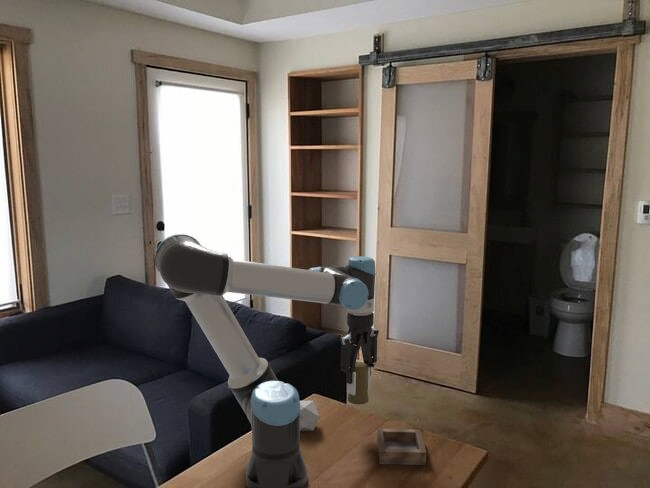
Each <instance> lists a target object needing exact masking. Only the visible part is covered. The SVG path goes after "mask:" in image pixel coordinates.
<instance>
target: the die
mask: <svg viewBox="0 0 650 488" xmlns="http://www.w3.org/2000/svg"><path fill="white" fill-rule="evenodd" d="M319 418H320V414H319V412H318V409H317V406H316V403H315V402H314V400H300V432H312V431H314V430H315V428H316V427H317V426H316V425H317V422H318V420H319Z"/></svg>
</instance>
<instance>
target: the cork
mask: <svg viewBox="0 0 650 488" xmlns="http://www.w3.org/2000/svg"><path fill="white" fill-rule="evenodd" d="M354 372H356V393H355V395H352V394H349V393H347V394H348V395H347V401H348V402H349V403H350V404H353V405H366V404H367V403H368V402H369V391H368V390H369V389H368V390H367V381H366V374H367V373H368V366H367V364H365V363H364V361H356V364H355V369H354Z"/></svg>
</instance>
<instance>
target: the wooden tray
mask: <svg viewBox="0 0 650 488" xmlns="http://www.w3.org/2000/svg"><path fill="white" fill-rule="evenodd" d="M376 432H377V433H376V442H377V444H376V445H377V452H378V460H379V461H378V462H379V465H404V466H405V465H407V466H427V450H426V446H425V443H424V439H423V435H422V432H421V429H413V428H412V429H407V428H404V429H403V428H377V429H376Z"/></svg>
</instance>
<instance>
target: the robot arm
mask: <svg viewBox="0 0 650 488" xmlns="http://www.w3.org/2000/svg"><path fill="white" fill-rule="evenodd" d="M154 265H155V267H156V269H157V271H158V272H159V275H160V277H161V279H162V280H163V282H164V283H165V284H166V285H167V287H168V288H169V290H170V292H171V293H172V294H173V297H174V298H175V299H176V300H179V301H182V302H183V301H184V302H185V304H186V306H187V307H188V309H189V311H190V312H191V314H192V315H193V317H194V319H195V320H196V323H198V325H199V327H200V328H201V331H202V332H203V333H204V335H205V336H206V338H207V340H208V341H209V343H210V345H211V346H212V349H213V350H214V352H215V353H216V355H217V356H218V358H219V361H220V362H221V363H222V365H223V367H224V369H225V370H226V372H227V373H228V380H227V385H228V387H229V388H230V390H231V392H232V394H233V395H234V397H235V399H236V400H237V401H236V402H238V404H239V405H240V406H241V408H242V410H243V412H244V414H245V415H246V418H247V420H248V422H249V423H250V425H251V427H250V428H251V446H252V448H251V449H252V451H251V455H250V457H249V461H248V463H247V467H246V470H245V485H246V487H247V488H304V487H305V485H306V484H307V481H308V469H307V466H306V462H305V460H304V457H303V453H302V452H301V448H300V447H301V446H300V445H301V443H300V441H301V434H300V433H301V431H300V401H301V400H300V395H299V394H300V393H299V391H298V390H297V388H296V387H294V386H293V385H292V384H290V383H288V382H287V383H285V382H284V381H281V380H278V378H277V376H276V374H275V372H274V371H273V369H272V367H271V365H270V364H269V362H268V360H267V359H266V358H264V357H259V356H258V354H257V352H256V350H255V349H254V348H253V345H252V344H251V342H250V340H249V338H248V337H247V335H246V334H245V331H244V330H243V328H242V327H241V324H240V323H239V321H238V320H237V317H236V316H235V314H234V313H233V311H232V309H231V307H230V305H229V304H228V302H227V300H226V299H225V297H224V295H225V294H226V293H233V294H242V295H250V296H251V295H252V296H259V297H268V298H276V299H283V300H284V299H285V300H291V301H302V302H309V303H310V302H311V303H319V304H327V305H332V306H333V305H335V306H341V307H343V308H344V309H347V313H346V325H347V327H348V330H347V335H345V336H341V337H340V338H339V342H340V345H341V346H340V348H341V349H340V367H339V368H340V371H342V372H344V373H345V383H346V393H347V394H352V395H355V393H356V372H354V369H355V364H356V362H357V358H358V354H359V350H360V349H361V354H362V360H363V361H362V362H363V363H365V364H367V366H368V373H367V374H366V381H367V390H370V386H371V384H370V383H371V376H372V368H375V364H376V363H377V361H378V336H379V332H380V331H379V330H378V329H377V328H372V327H373V326H374V323H375V321H374V320H375V314H374V313H373V312H374V311H375V293H376V292H375V291H376V290H375V288H376V276H377V273H376V261H375V260H374V258H373V257H369V256H363V255H362V256H360V255H359V256H358V255H357V256H351V257H349V258H348V260H347V264H346V265H332V266H320V265H319V266H316V267H310V268H308V269H302V268H296V267H290V266H282V265H276V264H269V263H261V262H256V261H255V262H254V261H248V260H241V259H234V258H232V257H231V256H230V255H229V253H225V252H219V251H215V250H212V249H209V248H207V247H205V246H203V245H202V244H201V243H200V242H199V241H198V240H197V239H196V238H195V237H193V236H191V235H187V234H184V233H183V234H181V233H180V234H179V233H178V234H172V235H170V236H168V237H166V238H164V239H163V240H162V241H161V242H160V243H159V244H158V246H157V248H156V250H155V253H154Z"/></svg>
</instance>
